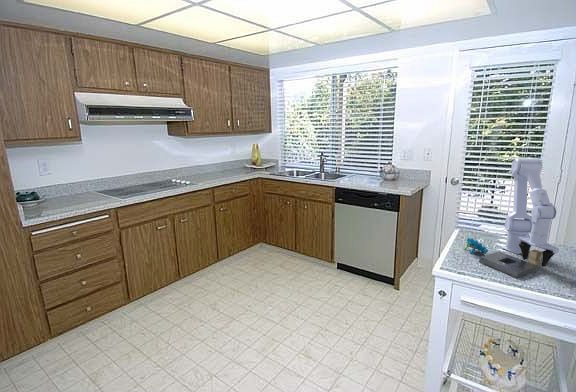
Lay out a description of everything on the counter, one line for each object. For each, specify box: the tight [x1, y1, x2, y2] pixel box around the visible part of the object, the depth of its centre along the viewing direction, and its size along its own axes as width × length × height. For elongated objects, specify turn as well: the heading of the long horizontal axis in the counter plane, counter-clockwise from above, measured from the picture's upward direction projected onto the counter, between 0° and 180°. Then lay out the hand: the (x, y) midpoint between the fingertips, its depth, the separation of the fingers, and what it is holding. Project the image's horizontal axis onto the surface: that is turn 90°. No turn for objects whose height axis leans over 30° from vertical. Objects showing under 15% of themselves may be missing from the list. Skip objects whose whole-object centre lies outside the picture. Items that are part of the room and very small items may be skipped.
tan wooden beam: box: [527, 248, 543, 268], centre depth 133 cm, size 4×3×7 cm, turn 113°
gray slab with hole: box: [478, 251, 539, 279], centre depth 133 cm, size 13×16×2 cm
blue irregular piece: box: [464, 237, 489, 255], centre depth 147 cm, size 11×6×10 cm
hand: (534, 262), depth 133 cm, fingers open, 7 cm apart
